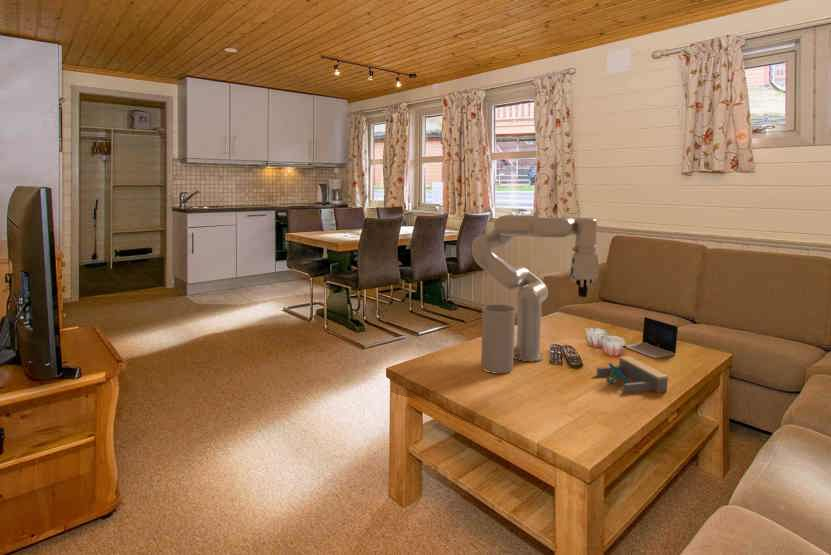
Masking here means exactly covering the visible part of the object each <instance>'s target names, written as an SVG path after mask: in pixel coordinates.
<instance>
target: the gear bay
mask: <svg viewBox="0 0 831 555" xmlns="http://www.w3.org/2000/svg"><path fill="white" fill-rule="evenodd" d="M614 366H615V367H616V369H617V370H619V371H621V372H622V374H623V375H624V376H625V375H626V376H627V377H629V378H631V379H632V380H634V381H636V382H630V383H627V382H626V383H623V390H622V392H623V393H625V394H633V393H642V392H643V393H644V392H650V391H653V392H655V393H656V392H658V393H666V392H665V391H667V392H668V390H667V389H668V381H669V380H668V379H669V375H667V374H665V373H663V372H661V371H659V370H658V369H656V368H654V367H651V366H649V365H648V364H645V363H644V362H642V361H640V360H637V359H636V358H635V357H632V356H629V355H624V356H619V365H614ZM596 369H597V370H596V376H597V377H608V376H610V375H611V372H613V371H612V368H611V367H610V366H602V367H601V366H600V367H597V368H596Z"/></svg>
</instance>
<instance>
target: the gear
mask: <svg viewBox="0 0 831 555" xmlns="http://www.w3.org/2000/svg"><path fill="white" fill-rule="evenodd" d="M615 366H616V365H613V364H612V363H611V362H609V363H608V367H611V368H612V371H613V372H611V375H609V376H606V379H608V380H609V381H608V383H609V384H612V383H613V382H615V381H616V380H617V379H619V378H621V379H622V381H624V382H626V383H631V382H630V380H629V379H628V378H627V377H626V376H625V374H622V372H621V371H619V370H617V369H616V367H615ZM610 378H611V379H610Z"/></svg>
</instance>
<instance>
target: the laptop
mask: <svg viewBox="0 0 831 555" xmlns="http://www.w3.org/2000/svg"><path fill="white" fill-rule="evenodd" d="M678 333H679V326H677V325H675V324H671V323H668V322H664V321H661V320H658V319H654V318H651V317H648V316H644V317H643V330H642V342H637V343H632V344H625V345H626V348H625V349H628V350H631V351H633V352H636V353H638V354H642V355H644V356H646V357H650V358H651V357H652V359H659V358H665V356H668V357H671V356H670V355H674V356H676V353H677V342H678Z"/></svg>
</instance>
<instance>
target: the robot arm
mask: <svg viewBox="0 0 831 555" xmlns="http://www.w3.org/2000/svg"><path fill="white" fill-rule="evenodd" d="M493 226H494V227H493V228H494V229H492V231H490V232H487V233H482V234H479V235H478V236H476V237H475V238H474V239H473V240H472V241H473V242H472V243H471V244H472V245H471V253H472V254H471V255H472V258H473V259H474V262H475V263H476V264H477V265H478V267H480V268H481V269H482V270H484V271H485V272H486V273H488V275H490V276H491V277H492V278H493V279H494V280H495V281H496V282H497V283H499V285H501V286H502V287H503V288H505V290H509V291H513V290H514V291H515V290H516V289H518V291H517V294H516V306H517V328H516V329H517V330H516V332H517V333H516V345H514V354H513V356H514V357H515V358H517V359H520V360H525V361H537V362H540V361H542V360H543V359H544V355H543V354H542V353H541V352H540V346H541V327H542V324H541V323H542V322H541V321H542V312H541V303H543V302H544V301H546V300H547V298H548V297H549V289H548V287H547V285H546V284H545V282H544V281H542V280H541V279H540V278H539V277H538V276H536V275H535V274H533V272H531V271H530V270H529V269H527V268H526V267H525V266H522V265H510V263H508V262H506V260H504V259H503V258H501V257H500V256H498V255H497V254H495V253H496V252H497V251H499V250H501V249H502V248H503V247H504V246H506V244H508V242H509V241H510V240H512V239H513V238H514V237H533V238H537V237H538V238H559V239H560V238H566V237H570V236H575V242H574V243H575V245H574V247H572V249H571V250H572V251H573V252H574V253H573V255H572V258H571V262H570V270H569V276H570V280H569V281H570V282H571V283H574V284H576V285H577V287H578V289H577V294H578V296H579V297H582V298H587V295H588V288H589V287H590V285H591V284H592V283H594V282H596V281H597V279H598V278H599V274H600V272H599V271H600V270H599V257H598V253H596V247H597V231H598V230H597V229H598V220H597V219H596V218H591V217H581V218H580V217H573V216H563V217H537V216H535V215H514V214H506V215H501V216H499V217H498V218H496V220H495V221H494V224H493ZM494 252H495V253H494ZM514 357H513V358H514ZM515 358H514V359H515ZM517 359H516V360H517ZM520 360H519V361H520ZM539 360H540V361H539Z"/></svg>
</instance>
